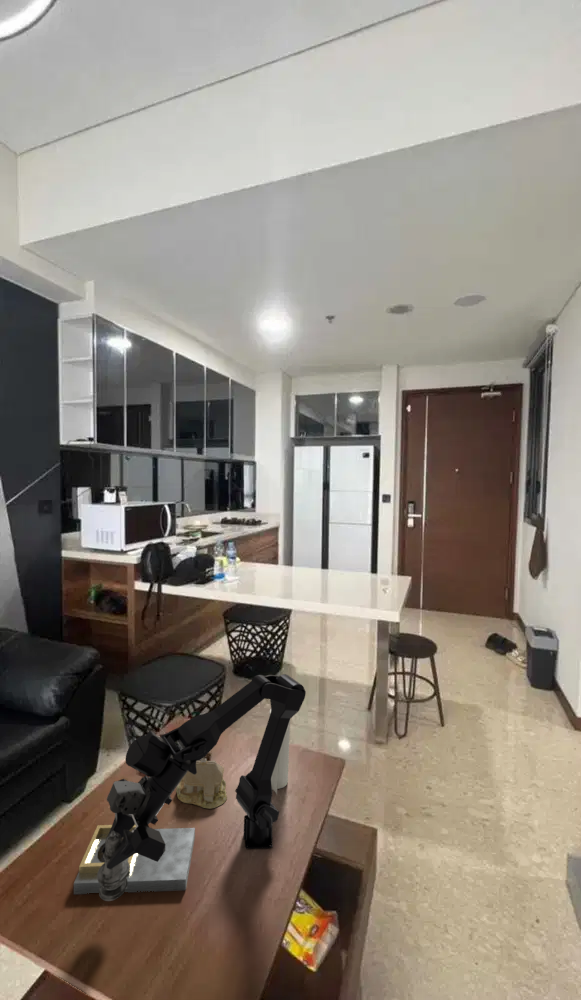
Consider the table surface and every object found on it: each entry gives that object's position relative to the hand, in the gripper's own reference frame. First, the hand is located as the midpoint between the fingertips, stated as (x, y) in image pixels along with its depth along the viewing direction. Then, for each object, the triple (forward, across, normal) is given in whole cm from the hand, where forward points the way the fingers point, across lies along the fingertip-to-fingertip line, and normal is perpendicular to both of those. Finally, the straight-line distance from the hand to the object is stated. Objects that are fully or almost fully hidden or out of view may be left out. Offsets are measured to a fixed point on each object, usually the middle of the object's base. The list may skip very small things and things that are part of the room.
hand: (105, 859), depth 83 cm
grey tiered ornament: (+4, 0, +6) cm, 7 cm away
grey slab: (+3, -9, +16) cm, 18 cm away
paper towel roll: (-25, -13, +44) cm, 52 cm away
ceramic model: (-11, -21, +31) cm, 39 cm away
